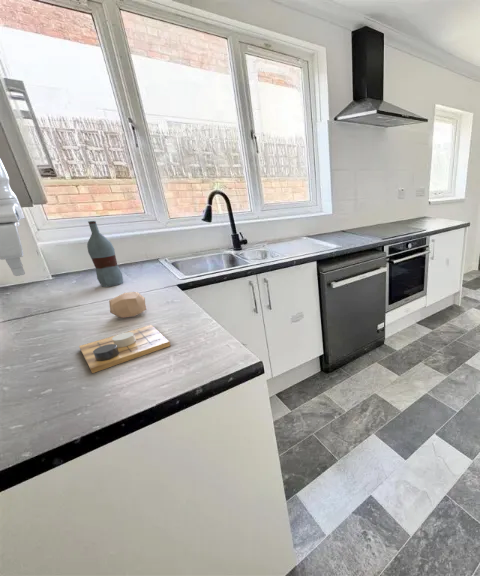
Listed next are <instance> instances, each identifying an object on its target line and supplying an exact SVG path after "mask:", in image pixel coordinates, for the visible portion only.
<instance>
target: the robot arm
mask: <svg viewBox="0 0 480 576" xmlns="http://www.w3.org/2000/svg"><path fill="white" fill-rule="evenodd" d="M23 219H26V216H25V214H24V211H23V209H22V205H21V204H20V201H19V199H18V197H17V195H16V193H15V192H14V191H13V189H12V188H11V185H10V176H9V174H8V171H7V169H6V168H5V165H4V163H3V161H2V159H1V158H0V260H2V261H3V260H5V262H6V263H7V266H8V267H9V268H10V270H11V272H12V275H13V276H14V277H21V276H24V275H25V274H26V272H25V269H24V265H23V263H22V260H21V258H23V257H24V250H23V245H22V241H21V237H20V233H19V229H18V227H20V226H21V224H20V221H21V220H23Z"/></svg>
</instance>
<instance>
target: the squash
mask: <svg viewBox="0 0 480 576" xmlns="http://www.w3.org/2000/svg"><path fill="white" fill-rule="evenodd" d="M108 303H109V312H110V313H111V314H112V315H114V316H116V317H117V318H119V319H126V318H132V317H136V316H137V315H140V314H142V313H143V312H145V311H147V306H146V305H147V304H146V297H144V295H141V293H139V292H138V291H129V292H124V293H123V292H122V293H121V294H119V295H117V296H115V297H113V298H111V299H109V300H108Z"/></svg>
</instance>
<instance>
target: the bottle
mask: <svg viewBox="0 0 480 576" xmlns="http://www.w3.org/2000/svg"><path fill="white" fill-rule="evenodd" d="M87 223H88V225H89V230H90V232H91V234H90V237H89V238H88V241H87V244H86V245H87V246H86V248H87V253H88V255H89V257H90V259H91V261H92V263H93V265H94V268H95V273H96V274H95V275H96V279H97V281H98V283H99V285H100V286H101V287H103V288H110V287H116V286H119V285H122V284H123V283H124V276H123V273H122V271H121V268H120V267H119V265H118V261H117V257H116V251H115V248H114V246H113V243H112V242H111V240H109V239H108V238H107V237H105V235H103V234H102V233H100V230H99V226H98V224H97V221H96V220H88V221H87Z"/></svg>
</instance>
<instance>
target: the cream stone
mask: <svg viewBox="0 0 480 576" xmlns="http://www.w3.org/2000/svg"><path fill="white" fill-rule="evenodd" d="M125 332H126V333H125ZM125 332H121V333H119V334H115V335H116V336H115V335H113V336H114V337H113V338H112V340H113V343H114V344H116V345H117V348H120V347H126V346H129V345H131V344H133V343H134V342H135V341H136V340H135V336H134V333H132V332H128V331H125Z"/></svg>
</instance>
